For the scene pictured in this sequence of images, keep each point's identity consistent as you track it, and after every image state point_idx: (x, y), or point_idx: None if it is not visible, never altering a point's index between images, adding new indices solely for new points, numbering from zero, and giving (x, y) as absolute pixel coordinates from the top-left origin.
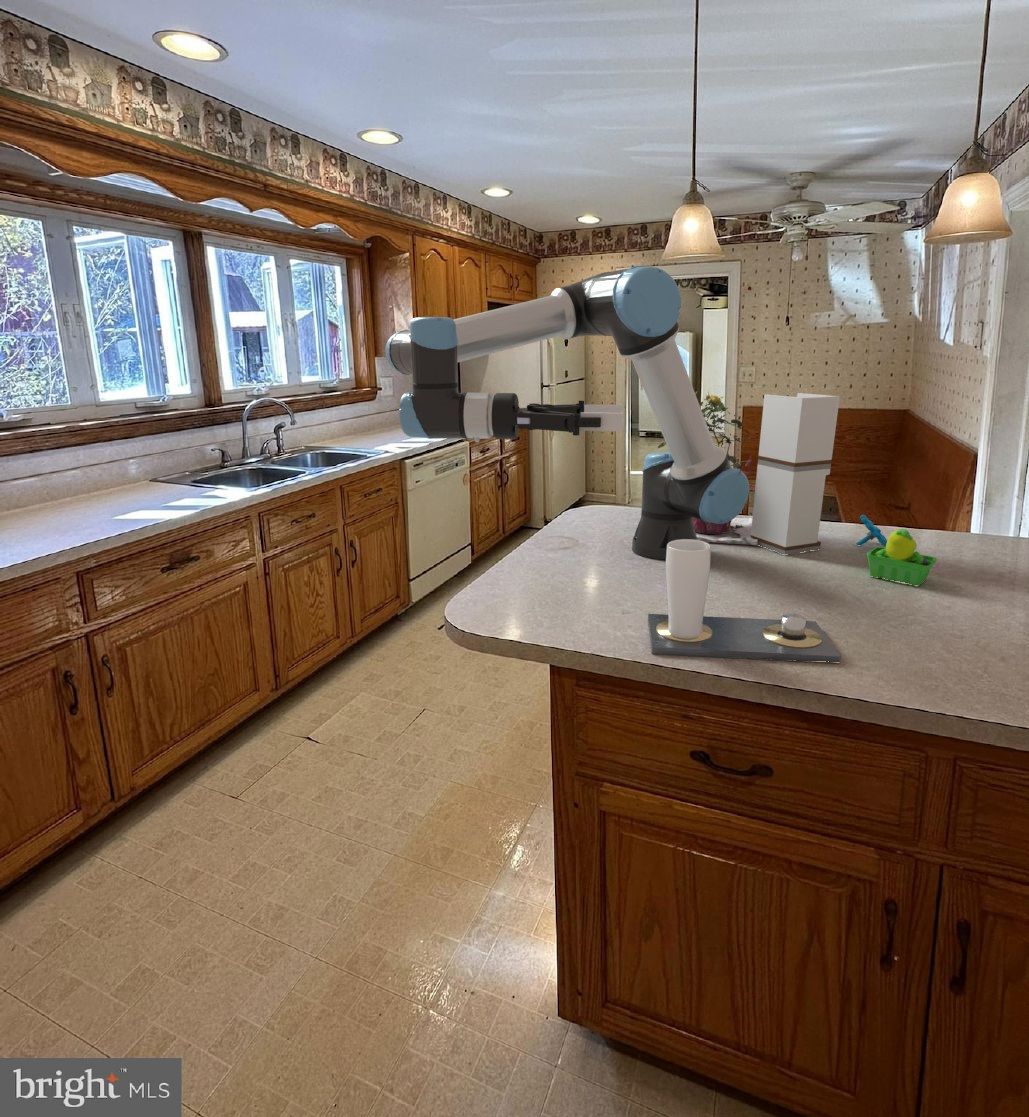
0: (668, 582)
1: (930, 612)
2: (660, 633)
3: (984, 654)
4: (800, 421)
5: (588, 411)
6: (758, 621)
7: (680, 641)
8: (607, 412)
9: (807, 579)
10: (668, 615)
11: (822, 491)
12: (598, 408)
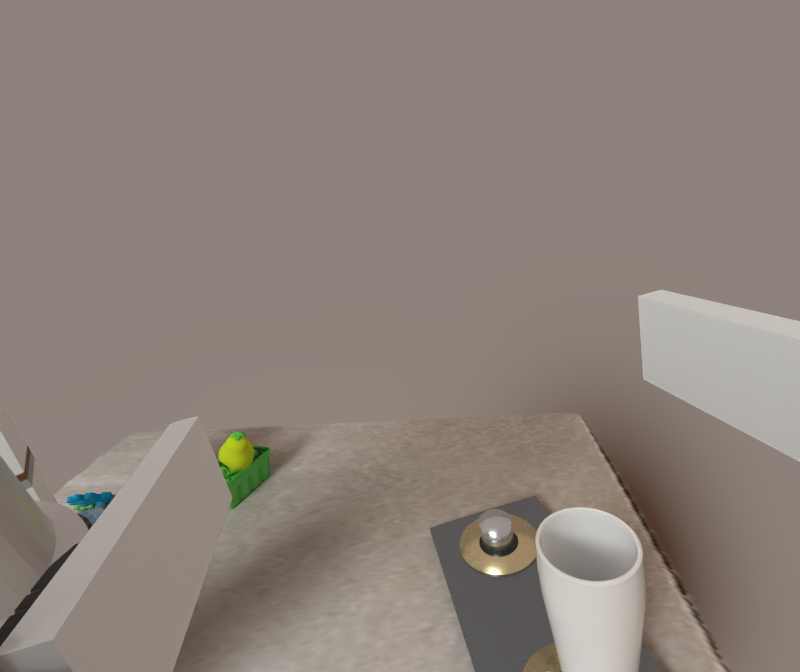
0: (636, 638)
1: (347, 462)
2: None
3: (444, 431)
4: None
5: (115, 644)
6: (461, 587)
7: None
8: (186, 512)
9: (233, 566)
10: None
11: (51, 493)
12: (147, 537)
